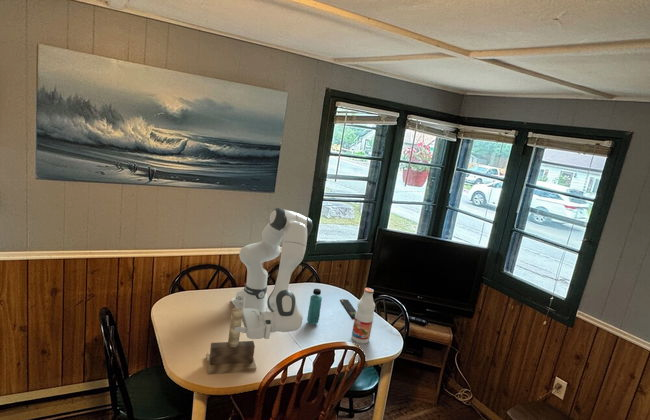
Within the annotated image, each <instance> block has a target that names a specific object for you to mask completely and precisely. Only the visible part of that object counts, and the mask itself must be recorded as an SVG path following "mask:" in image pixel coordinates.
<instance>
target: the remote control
mask: <svg viewBox="0 0 650 420" xmlns="http://www.w3.org/2000/svg"><path fill="white" fill-rule="evenodd" d="M339 301H340V303H341V305H342V306H343V307H344V310H346V312H347V313H348V315H349V317H350V318H351V319H352V320H354V319H355V314H356V311H357V310H356V309H355V307H353V305H352V304H351V302H350V301H349V299H346V298H345V299H339Z"/></svg>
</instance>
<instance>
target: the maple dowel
mask: <svg viewBox="0 0 650 420" xmlns="http://www.w3.org/2000/svg"><path fill="white" fill-rule="evenodd" d="M242 311H243V310H242V309H241V308H236V307H233V308H232V309H231V313H230V321H229V322H230V323H229V333H228V338H227V339H228V340H227V342H228V346H230V347H237V346H238V345H239V342H240V335H241V332H235V326H239V327H242V321H243V320H242Z"/></svg>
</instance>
